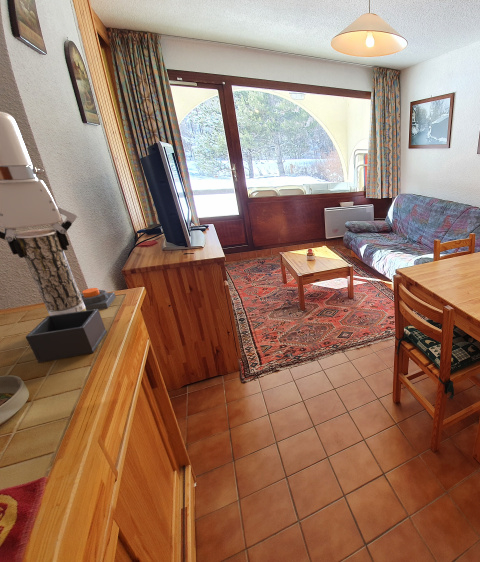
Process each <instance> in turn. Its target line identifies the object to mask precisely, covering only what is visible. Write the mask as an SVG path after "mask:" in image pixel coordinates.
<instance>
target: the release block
mask: <svg viewBox="0 0 480 562" xmlns="http://www.w3.org/2000/svg"><path fill="white" fill-rule="evenodd" d="M98 290H99V293H100V294H99V295H97V296H93V297H88V298H86V297H84V296H83V293H80V295H81V297H82V300H83V302H84V305H85V308H86V310H94V309H98V310H99V311H100V310H104V309H105V310H106V309H109V307H110V306H111V304H113V302H114V301H115V299H116V298H117V296H116V293H115V292H107V291H106V290H105V289H98Z"/></svg>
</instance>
